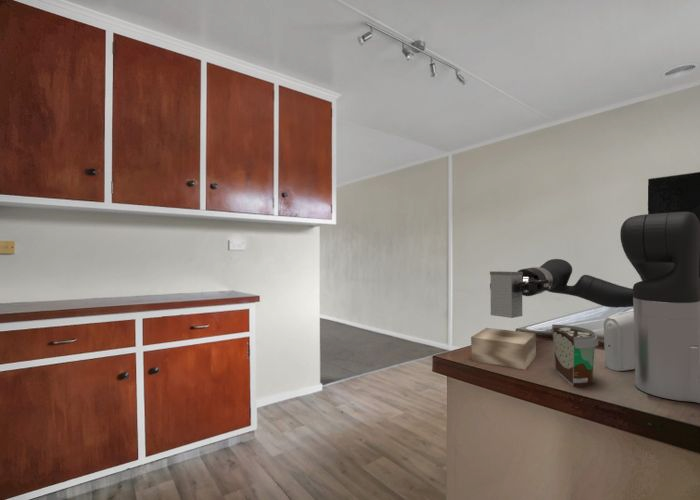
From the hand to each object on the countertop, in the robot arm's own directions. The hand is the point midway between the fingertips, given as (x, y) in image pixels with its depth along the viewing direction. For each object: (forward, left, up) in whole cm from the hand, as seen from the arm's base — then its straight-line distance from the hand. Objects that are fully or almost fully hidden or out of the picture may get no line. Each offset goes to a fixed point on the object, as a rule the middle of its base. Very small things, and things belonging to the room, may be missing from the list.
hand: (503, 287), depth 86 cm
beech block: (0, 0, -18) cm, 18 cm away
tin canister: (0, -1, -7) cm, 7 cm away
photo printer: (-22, -13, -18) cm, 31 cm away
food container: (-17, +2, -18) cm, 25 cm away
